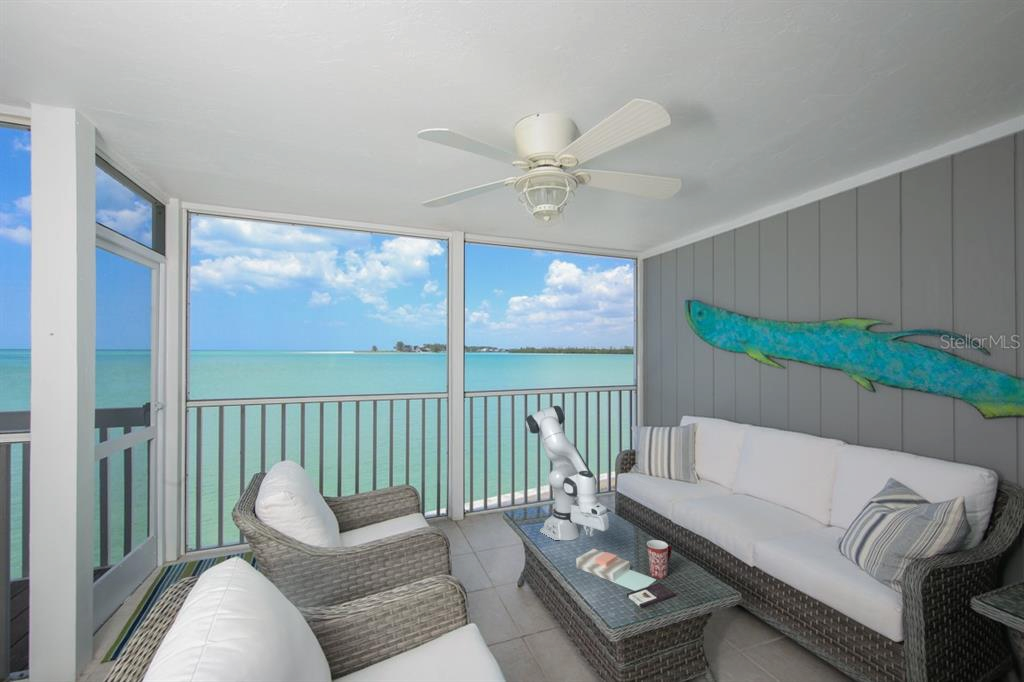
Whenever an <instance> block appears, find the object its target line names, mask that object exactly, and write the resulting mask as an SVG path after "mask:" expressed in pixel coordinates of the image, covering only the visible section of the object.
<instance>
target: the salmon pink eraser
mask: <svg viewBox="0 0 1024 682" xmlns="http://www.w3.org/2000/svg"><path fill="white" fill-rule="evenodd" d="M617 557H618V555H616V554H614V553H610V552H607V551H605V552H604V553H603V554H602V555H600V556H598V557H597V558H595V563H597V564H599V565H602V566H605V567H607V566H609V565H611V564H612V563H614V562H615V561H617Z"/></svg>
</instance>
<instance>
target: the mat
mask: <svg viewBox="0 0 1024 682" xmlns="http://www.w3.org/2000/svg"><path fill="white" fill-rule="evenodd" d="M656 581H657V579H655V577H654V578H653V577H650V576H648V575H646V574H643V573H640V572H637V571H635V570H631V569H630V570H629V571H627V572H626V573H625V574H623V575H622V576H620V577H619V578H618V579H616V580H615V581H610V582H612V583H615V584H617V585H619V586H621V587H624V588H626V589H630V590H632V591H636V590H639V589H642V588H645V587H648V586H651V585H653V584H654V583H655V582H656Z"/></svg>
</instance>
